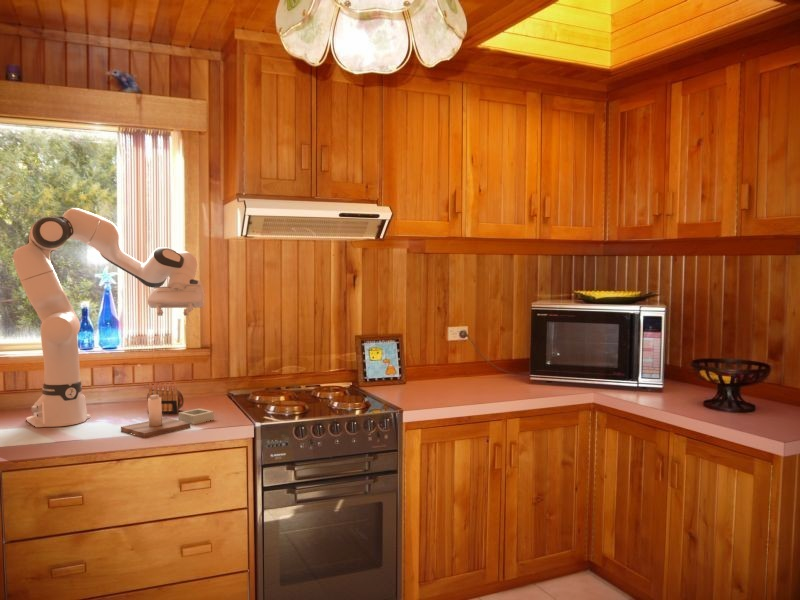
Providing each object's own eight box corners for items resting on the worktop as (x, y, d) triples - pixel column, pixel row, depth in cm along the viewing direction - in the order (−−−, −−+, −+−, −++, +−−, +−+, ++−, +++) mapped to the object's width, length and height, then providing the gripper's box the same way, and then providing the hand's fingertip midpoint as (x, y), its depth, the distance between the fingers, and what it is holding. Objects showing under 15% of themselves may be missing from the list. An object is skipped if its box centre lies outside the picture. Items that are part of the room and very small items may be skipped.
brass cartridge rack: (184, 410, 247) (184, 388, 247) (179, 412, 244) (178, 390, 244) (151, 408, 252) (150, 386, 252) (145, 409, 249) (145, 388, 249)
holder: (178, 420, 230) (178, 412, 230) (199, 416, 237) (199, 408, 237) (193, 424, 225) (193, 415, 225) (214, 419, 232) (213, 411, 232)
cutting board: (121, 431, 216) (120, 426, 216) (166, 421, 230) (166, 417, 230) (144, 437, 208) (144, 433, 208) (190, 427, 221) (190, 423, 221)
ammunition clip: (178, 413, 243) (178, 381, 243) (177, 414, 242) (176, 382, 241) (149, 413, 242) (148, 381, 242) (147, 414, 241) (147, 382, 240)
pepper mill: (146, 425, 218) (145, 396, 217) (157, 422, 221) (156, 393, 221) (154, 426, 216) (152, 397, 215) (164, 424, 219) (163, 394, 218)
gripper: (150, 281, 243) (141, 309, 234) (205, 281, 244) (199, 308, 235) (154, 292, 248) (146, 320, 238) (208, 292, 249) (202, 320, 239)
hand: (172, 314), depth 237 cm, fingers open, 8 cm apart
